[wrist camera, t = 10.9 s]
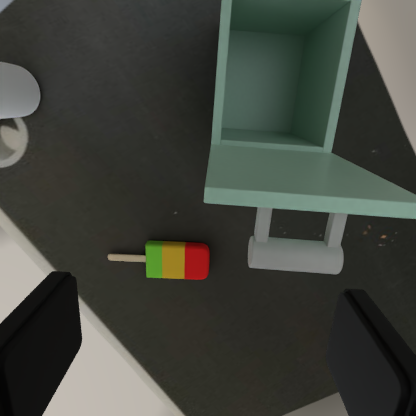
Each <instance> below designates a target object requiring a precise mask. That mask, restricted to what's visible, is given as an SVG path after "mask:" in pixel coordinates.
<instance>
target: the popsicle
mask: <svg viewBox="0 0 416 416" xmlns="http://www.w3.org/2000/svg"><path fill="white" fill-rule="evenodd" d="M145 249H146V255H128V254H109V255H108V259H109V260H113V261H135V262H146V277H153V278H175V279H196V280H200V279H205V278H206V277H207V276H208V273H209V259H210V251H209V247H208V246H207V245H206V244H204V243H195V242H172V241H147V243H146V246H145Z"/></svg>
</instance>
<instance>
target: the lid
mask: <svg viewBox="0 0 416 416" xmlns="http://www.w3.org/2000/svg"><path fill="white" fill-rule="evenodd" d="M204 202H205V203H213V204H226V205H239V206H252V207H258V209H257V217H256V224H255V232H254V236H251V238H250V241H249V247H248V265H249V267H250V268H261V269H274V270H287V271H300V272H313V273H326V274H338V273H339V272H340V271H341V269H342V266H343V250H342V247H341V245H340V244H341V239H342V235H343V231H344V227H345V223H346V218H347V214H357V215H370V216H384V217H397V218H410V219H416V195H415V194H413V193H411V192H409V191H407V190H405V189H403V188H401V187H399V186H397V185H395V184H393V183H391V182H389V181H387V180H385V179H383V178H381V177H379V176H377V175H375V174H373V173H371V172H369V171H367V170H365V169H363V168H361V167H359V166H357V165H355V164H353V163H351V162H349V161H347V160H345V159H343V158H341V157H339V156H337V155H335V154H333V153H320V152H307V151H294V150H280V149H267V148H253V147H240V146H227V145H213V144H212V145H211V149H210V155H209V162H208V169H207V175H206V182H205V189H204ZM272 208H279V209H292V210H305V211H318V212H330V214H329V219H328V223H327V228H326V233H325V237H324V242H323V241H310V240H297V239H284V238H271V237H268V235H269V228H270V221H271V215H272Z"/></svg>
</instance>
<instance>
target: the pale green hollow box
mask: <svg viewBox="0 0 416 416" xmlns="http://www.w3.org/2000/svg"><path fill="white" fill-rule="evenodd" d="M360 5H361V0H222V2H221V16H220V29H219V43H218V57H217V71H216V85H215V98H214V112H213V126H212V140H211V145H212V144H213V145H227V146H240V147H253V148H267V149H280V150H294V151H307V152H320V153H331V151H332V146H333V141H334V136H335V131H336V126H337V121H338V116H339V111H340V106H341V101H342V96H343V91H344V86H345V81H346V76H347V71H348V66H349V61H350V56H351V51H352V46H353V41H354V36H355V31H356V26H357V21H358V16H359V10H360Z"/></svg>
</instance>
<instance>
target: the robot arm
mask: <svg viewBox="0 0 416 416" xmlns="http://www.w3.org/2000/svg"><path fill="white" fill-rule="evenodd" d="M81 343H82V333H81V323H80V312H79V302H78V292H77V282H76V278H75V277H73V276H72V275H71V273H70V272H58V271H52V272H51V273H50V274H49V275H48V276H47V277H46V278H45V279H44V280H43V281H42V282H41V283H40V284H39V285H38V286H37V287H36V288H35V289H34V290H33V291H32V292H31V293H30V294H29V295H28V296H27V297H26V298H25V299H24V300H23V301H22V302H21V303H20V304H19V306H17V307H16V309H14V310H13V312H12V313H10V314H9V316H8V317H7V318H5V319H4V320H3V321H2V323H1V324H0V416H42V415H43V413H44V411H45V410H46V408H47V406H48V404H49V402H50V401H51V399H52V397H53V395H54V393H55V392H56V390H57V388H58V386H59V385H60V383H61V381H62V379H63V377H64V375H65V374H66V372H67V370H68V369H69V367H70V365H71V363H72V362H73V360H74V358H75V356H76V354H77V353H78V351H79V349H80V346H81ZM326 361H327V365H328V367H329V370H330V372H331V374H332V377H333V379H334V382H335V384H336V386H337V389H338V391H339V393H340V396H341V398H342V401H343V403H344V405H345V407H346V410H347V412H348V415H349V416H416V355H415V354H414V353H413V351H412V350H411V349H410V348H409V346H408V345H407V344H406V343H405V341H404V340H403V339H402V337H401V336H400V335H399V334H398V332H397V331H396V330H395V329H394V327H393V326H392V325H391V323H390V322H389V321H388V320H387V318H386V317H385V316H384V315H383V313H382V312H381V311H380V309H379V308H378V307H377V306H376V304H375V303H374V302H373V301H372V299H371V298H370V297H369V295H368V294H367V293H366V292H365V291H364V290H359V289H345V291H344V293H340V294H339V296H338V301H337V305H336V310H335V314H334V319H333V324H332V328H331V333H330V338H329V342H328V347H327V351H326Z"/></svg>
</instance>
